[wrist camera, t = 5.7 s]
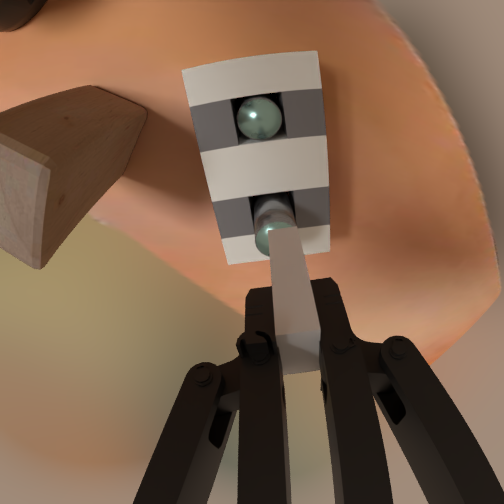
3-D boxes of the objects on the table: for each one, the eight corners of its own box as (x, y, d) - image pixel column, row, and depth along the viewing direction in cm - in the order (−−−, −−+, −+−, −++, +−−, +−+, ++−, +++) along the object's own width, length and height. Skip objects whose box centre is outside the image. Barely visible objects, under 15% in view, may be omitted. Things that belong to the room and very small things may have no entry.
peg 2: (251, 190, 30) (251, 224, 25) (288, 185, 30) (297, 218, 24) (256, 222, 33) (258, 260, 27) (291, 217, 32) (300, 255, 27)
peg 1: (236, 95, 28) (233, 101, 22) (272, 90, 28) (278, 95, 22) (242, 128, 31) (241, 143, 25) (277, 123, 30) (284, 137, 24)
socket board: (195, 69, 26) (181, 70, 21) (303, 54, 25) (317, 50, 20) (231, 232, 39) (228, 264, 34) (318, 220, 38) (329, 251, 33)
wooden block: (152, 109, 29) (53, 169, 13) (123, 177, 34) (41, 278, 18) (87, 82, 26) (-36, 123, 10) (65, 149, 31) (-35, 228, 15)
